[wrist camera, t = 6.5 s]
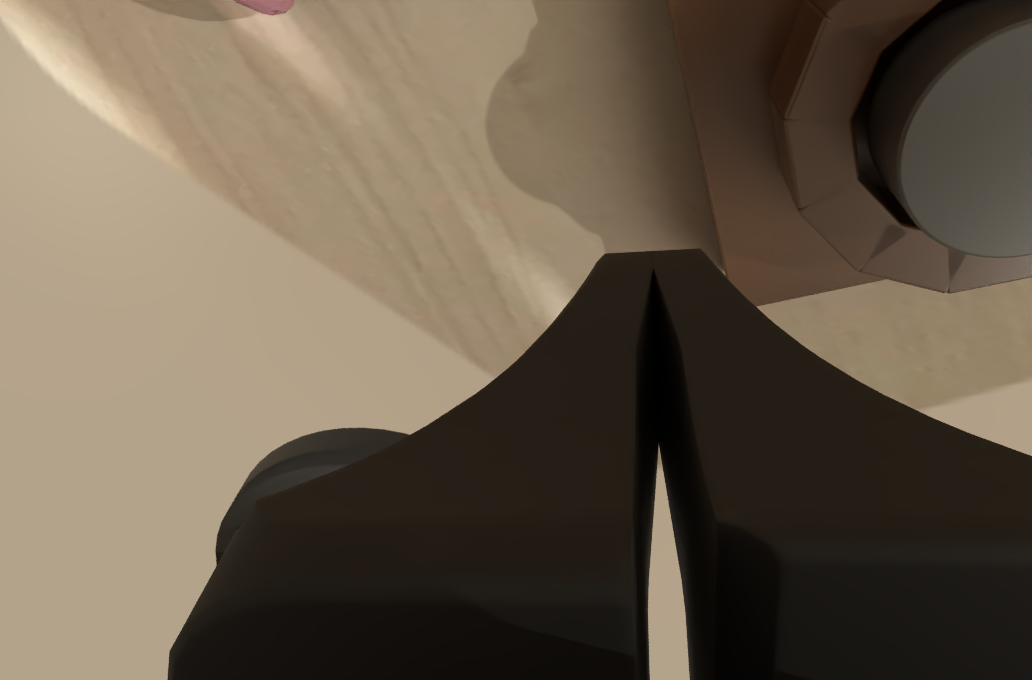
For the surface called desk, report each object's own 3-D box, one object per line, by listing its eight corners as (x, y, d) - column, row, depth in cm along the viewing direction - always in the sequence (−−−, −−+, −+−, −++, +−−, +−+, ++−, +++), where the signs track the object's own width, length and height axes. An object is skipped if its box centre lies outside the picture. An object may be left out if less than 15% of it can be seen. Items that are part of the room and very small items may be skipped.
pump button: (1105, 183, 15) (1166, 228, 13) (877, 234, 16) (906, 282, 14) (1113, -43, 13) (1186, -24, 12) (854, 31, 14) (885, 59, 13)
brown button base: (1175, 173, 18) (1298, 250, 15) (725, 273, 21) (743, 358, 18) (1208, -241, 15) (1383, -263, 11) (654, -57, 17) (660, -29, 14)
